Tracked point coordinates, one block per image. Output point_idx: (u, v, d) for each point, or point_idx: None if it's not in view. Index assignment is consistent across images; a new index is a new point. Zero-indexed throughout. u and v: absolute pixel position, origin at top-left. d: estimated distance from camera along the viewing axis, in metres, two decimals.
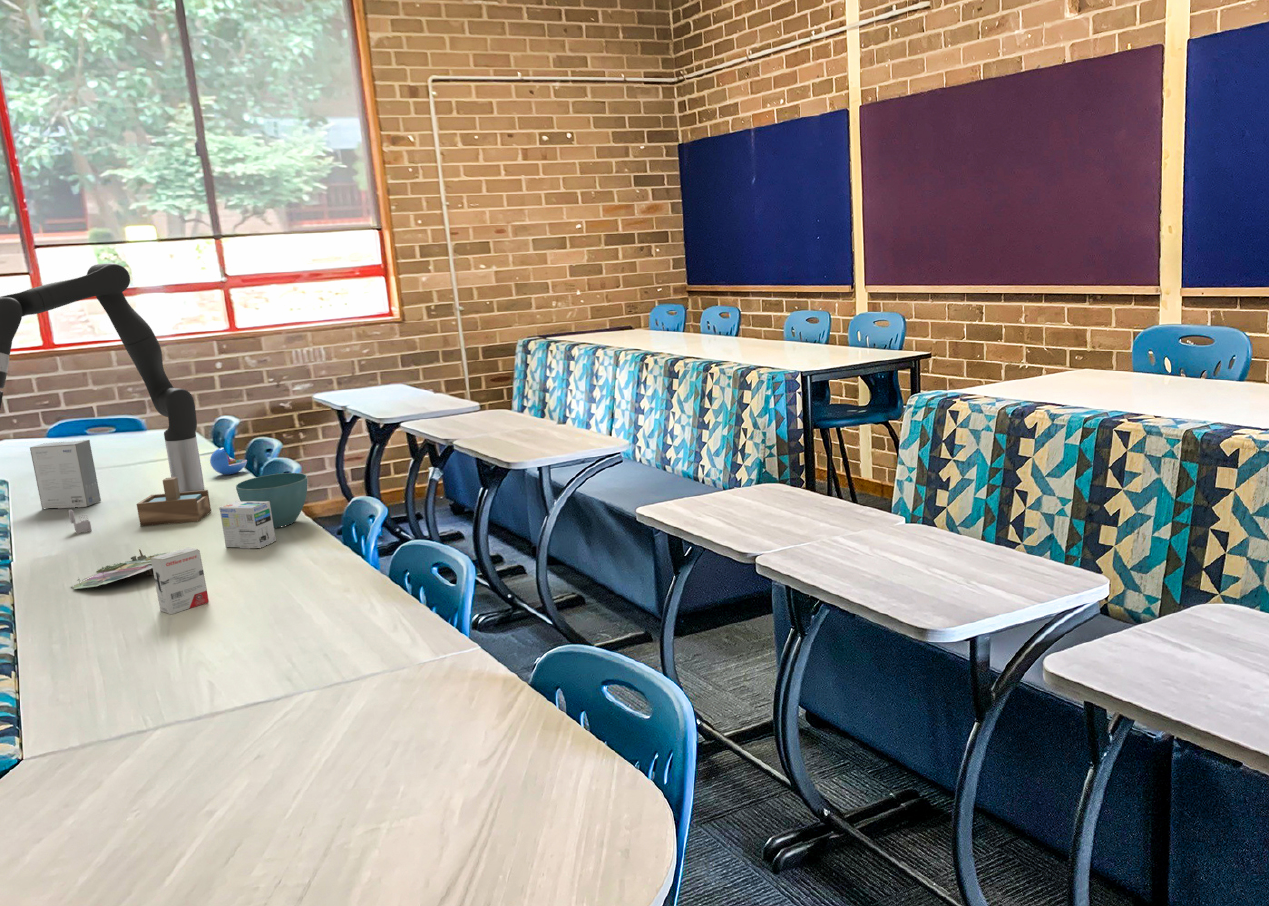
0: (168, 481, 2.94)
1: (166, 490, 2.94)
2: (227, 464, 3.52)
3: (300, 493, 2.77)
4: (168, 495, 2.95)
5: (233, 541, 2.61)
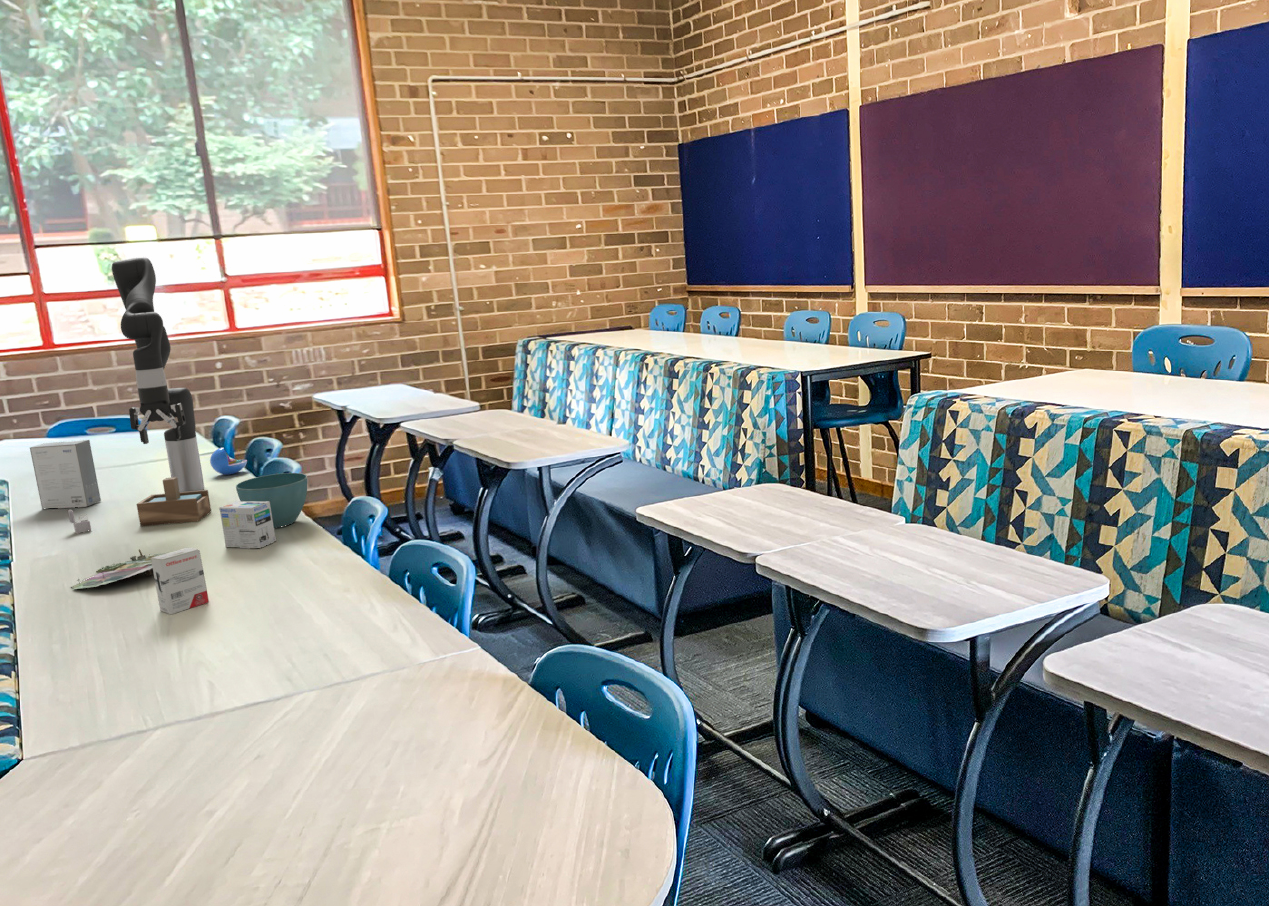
0: (168, 481, 2.94)
1: (166, 490, 2.94)
2: (227, 464, 3.52)
3: (299, 493, 2.77)
4: (168, 495, 2.95)
5: (233, 541, 2.61)
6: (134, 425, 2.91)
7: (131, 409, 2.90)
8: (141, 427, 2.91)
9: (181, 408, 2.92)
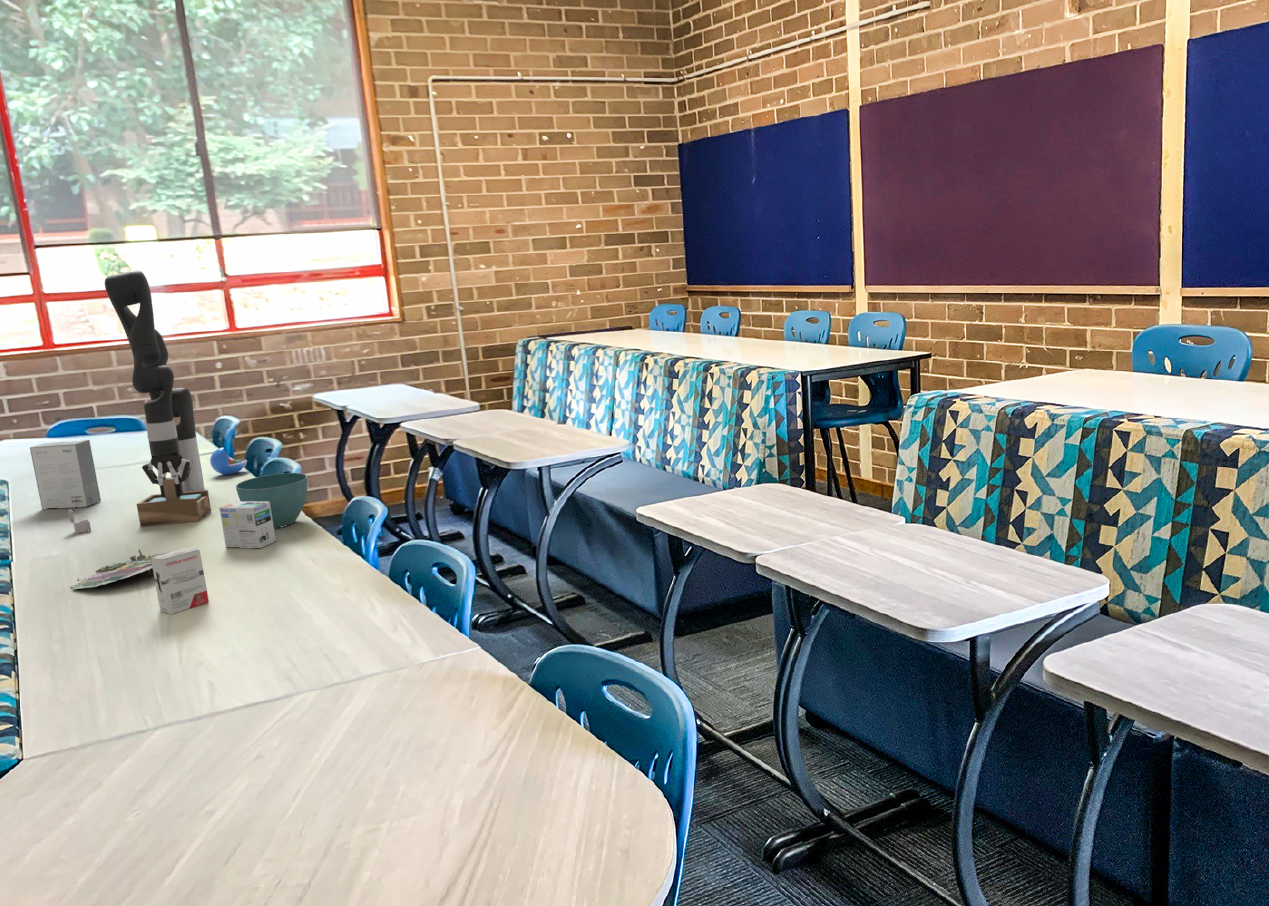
0: (168, 481, 2.94)
1: (166, 490, 2.94)
2: (227, 464, 3.52)
3: (300, 493, 2.77)
4: (168, 495, 2.95)
5: (233, 541, 2.61)
6: (155, 480, 2.94)
7: (143, 466, 2.93)
8: (162, 482, 2.94)
9: (190, 466, 2.95)
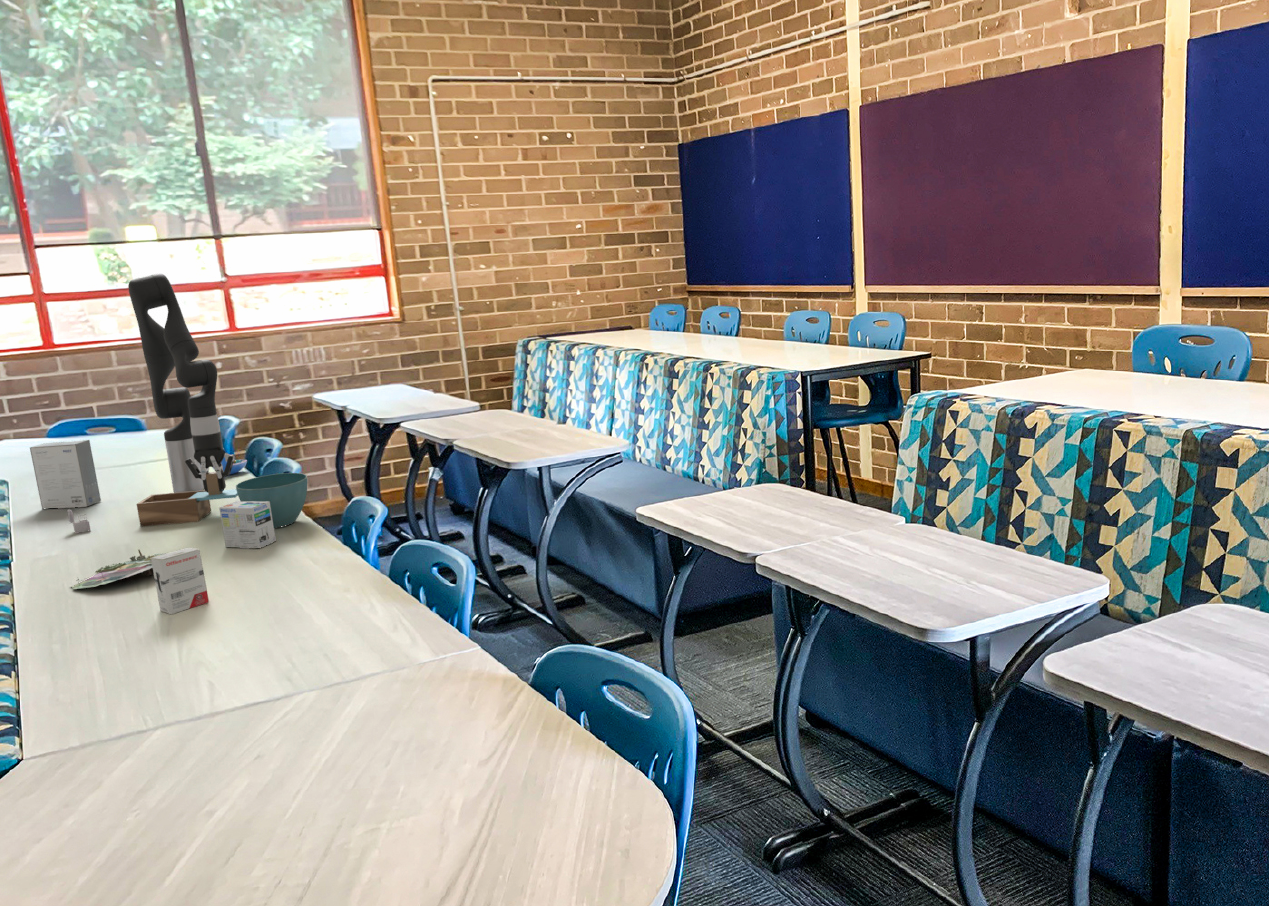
0: (211, 475, 2.94)
1: (209, 484, 2.95)
2: None
3: (299, 493, 2.77)
4: (210, 489, 2.95)
5: (233, 541, 2.61)
6: (198, 474, 2.95)
7: (187, 461, 2.93)
8: (205, 476, 2.95)
9: (233, 460, 2.96)
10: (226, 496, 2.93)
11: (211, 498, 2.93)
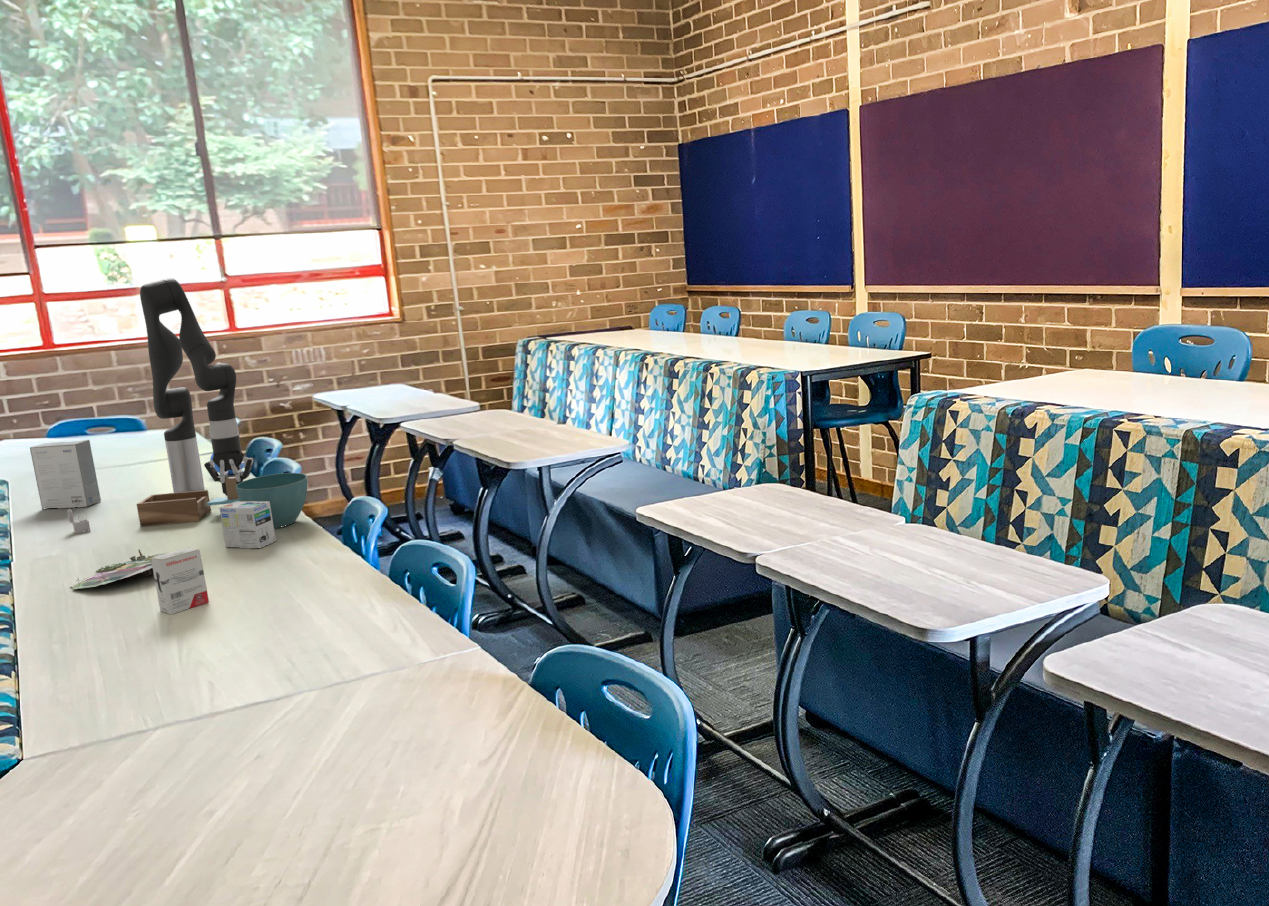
0: (230, 480, 2.96)
1: (228, 489, 2.96)
2: None
3: (300, 493, 2.77)
4: (229, 494, 2.96)
5: (233, 541, 2.61)
6: (217, 477, 2.95)
7: (206, 464, 2.94)
8: (223, 479, 2.95)
9: (251, 463, 2.97)
10: None
11: (230, 502, 2.94)
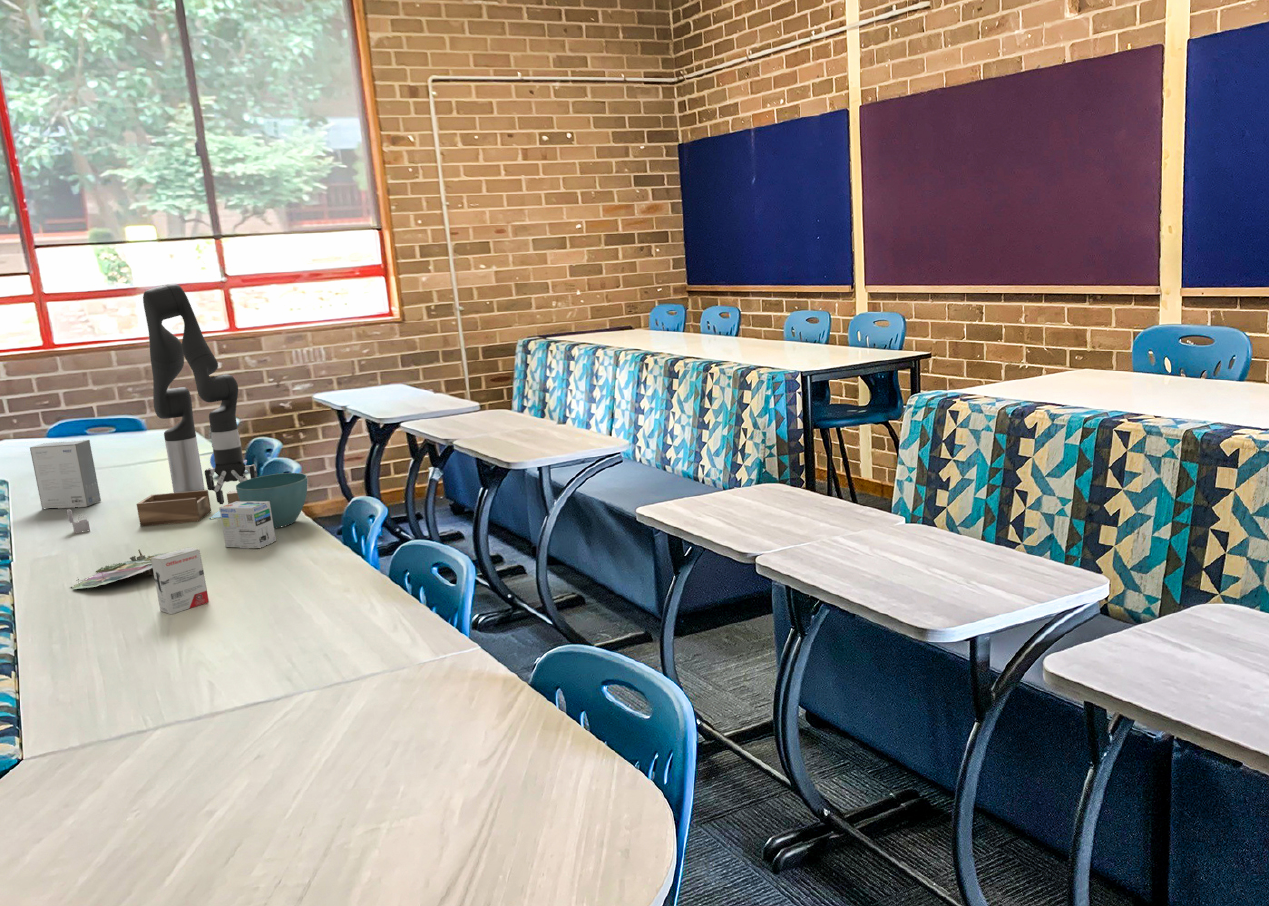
0: (232, 495, 2.96)
1: None
2: None
3: (300, 493, 2.77)
4: None
5: (233, 541, 2.61)
6: (211, 486, 2.96)
7: (206, 471, 2.95)
8: (217, 488, 2.96)
9: (255, 469, 2.97)
10: None
11: None
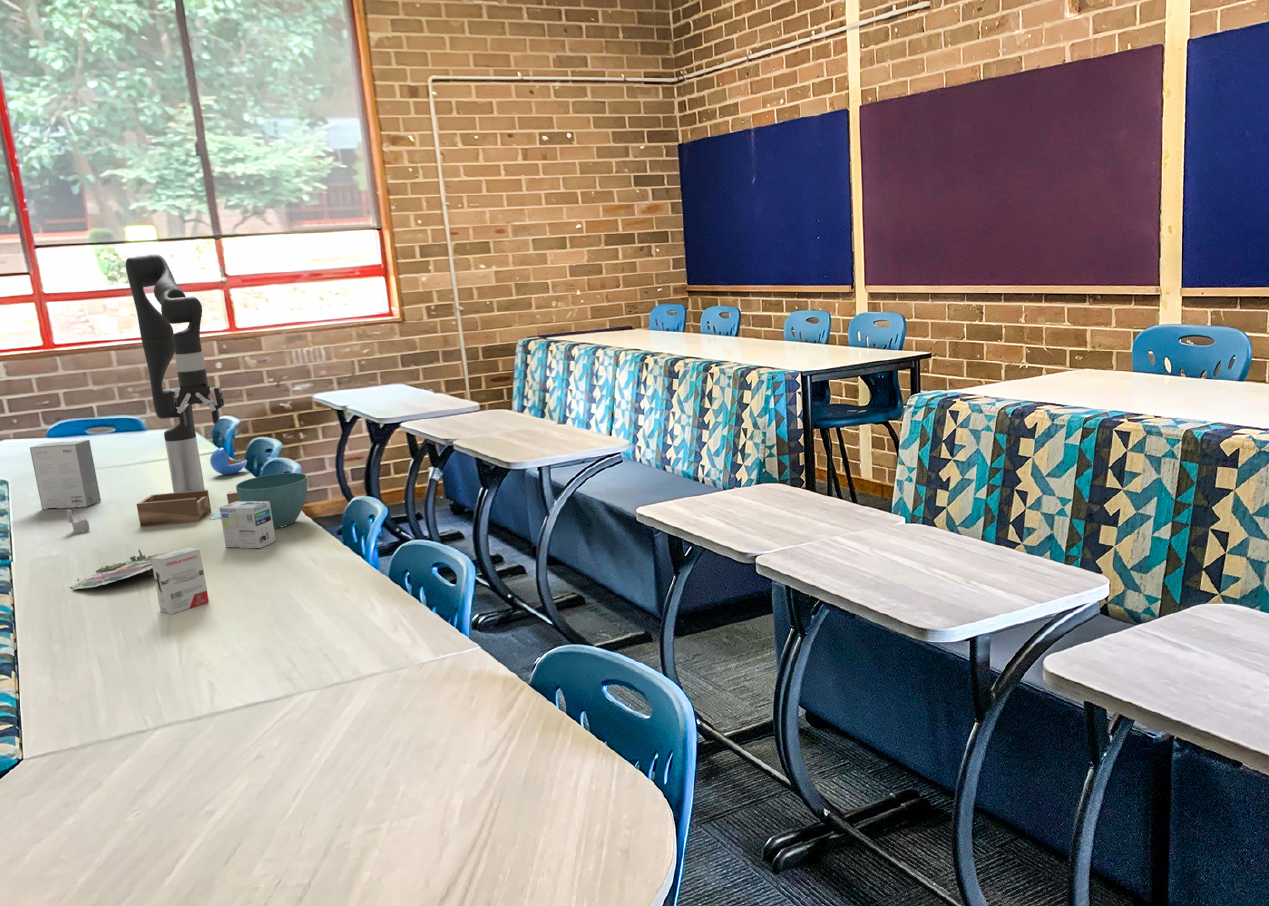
0: (232, 495, 2.96)
1: None
2: (227, 464, 3.52)
3: (299, 493, 2.77)
4: None
5: (233, 541, 2.61)
6: (173, 408, 2.96)
7: (171, 392, 2.95)
8: (180, 410, 2.96)
9: (220, 391, 2.98)
10: None
11: None
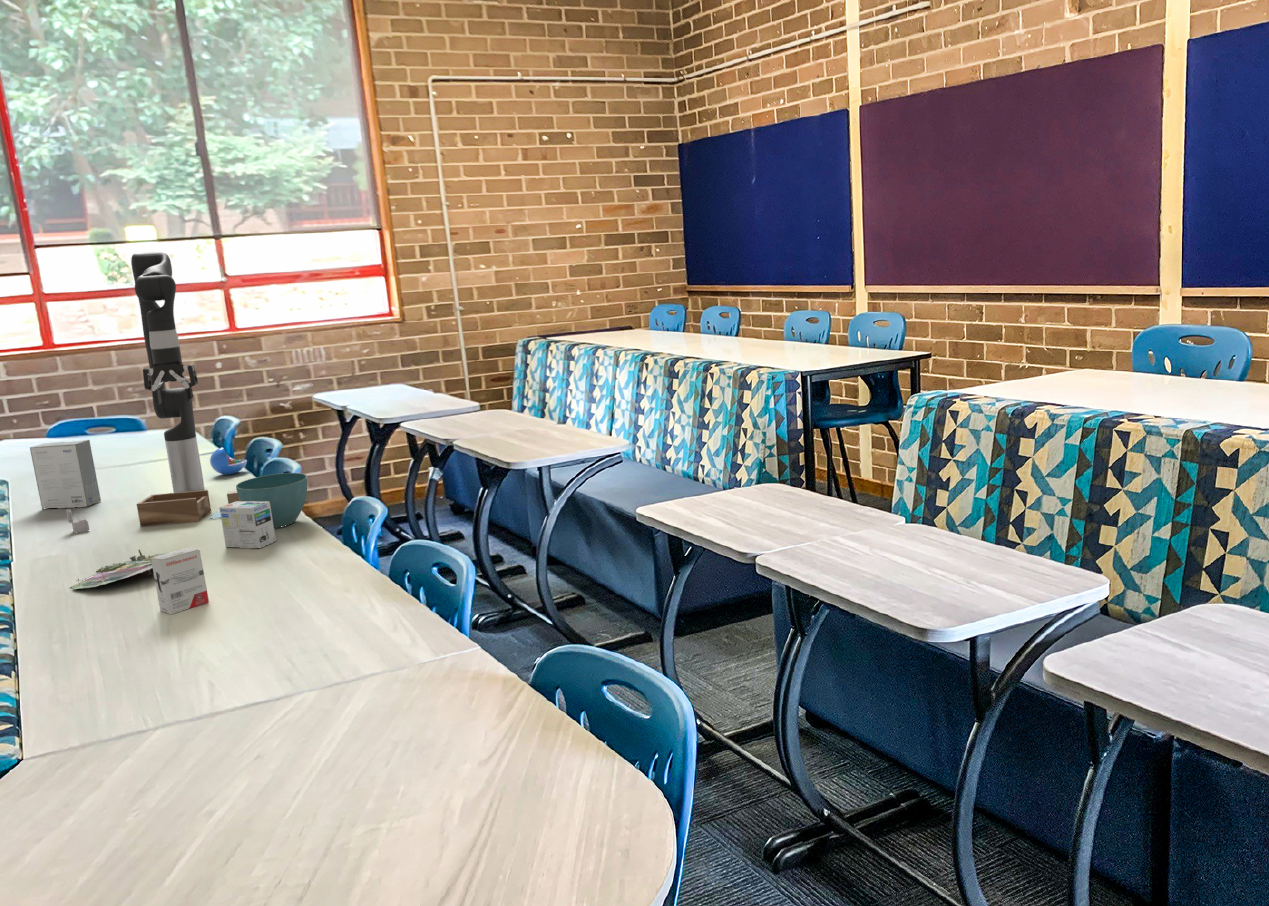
0: (232, 495, 2.96)
1: None
2: (227, 464, 3.52)
3: (300, 493, 2.77)
4: None
5: (233, 541, 2.61)
6: (148, 385, 2.99)
7: (145, 370, 2.98)
8: (154, 387, 2.99)
9: (193, 369, 3.00)
10: None
11: None
